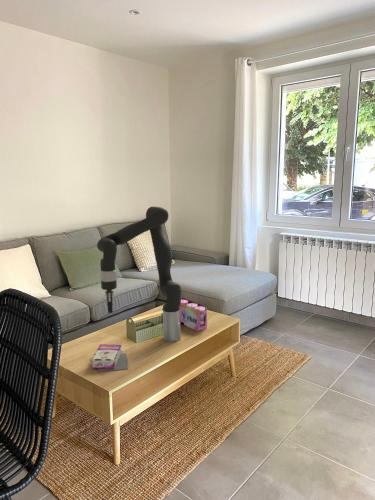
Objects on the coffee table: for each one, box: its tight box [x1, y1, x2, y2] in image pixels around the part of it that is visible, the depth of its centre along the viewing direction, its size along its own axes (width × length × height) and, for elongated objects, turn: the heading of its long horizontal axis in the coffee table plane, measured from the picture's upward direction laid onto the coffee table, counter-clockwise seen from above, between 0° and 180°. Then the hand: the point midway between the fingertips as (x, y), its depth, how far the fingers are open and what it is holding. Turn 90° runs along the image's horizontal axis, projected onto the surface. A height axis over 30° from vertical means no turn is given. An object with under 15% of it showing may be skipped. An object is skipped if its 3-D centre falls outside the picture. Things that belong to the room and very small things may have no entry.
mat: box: [97, 352, 129, 373], centre depth 192 cm, size 14×16×1 cm
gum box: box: [179, 297, 208, 332], centre depth 237 cm, size 24×8×14 cm, turn 40°
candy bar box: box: [91, 344, 122, 369], centre depth 193 cm, size 11×5×16 cm
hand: (110, 312), depth 193 cm, fingers closed
